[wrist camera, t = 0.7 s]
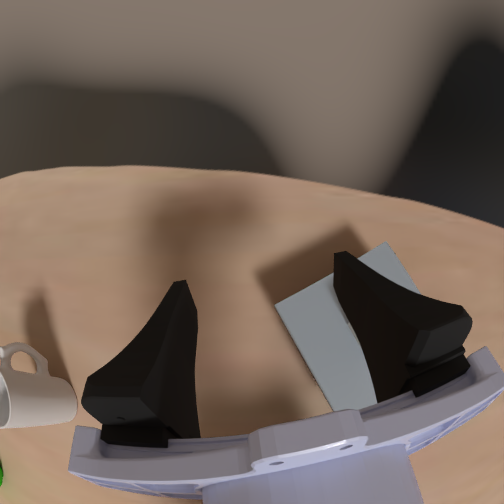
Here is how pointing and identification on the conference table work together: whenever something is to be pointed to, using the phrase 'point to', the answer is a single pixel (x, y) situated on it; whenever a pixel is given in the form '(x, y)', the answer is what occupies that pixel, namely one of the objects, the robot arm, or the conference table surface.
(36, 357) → the mug
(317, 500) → the robot arm
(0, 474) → the plastic bottle
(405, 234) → the conference table surface
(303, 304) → the bin lid
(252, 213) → the conference table surface
